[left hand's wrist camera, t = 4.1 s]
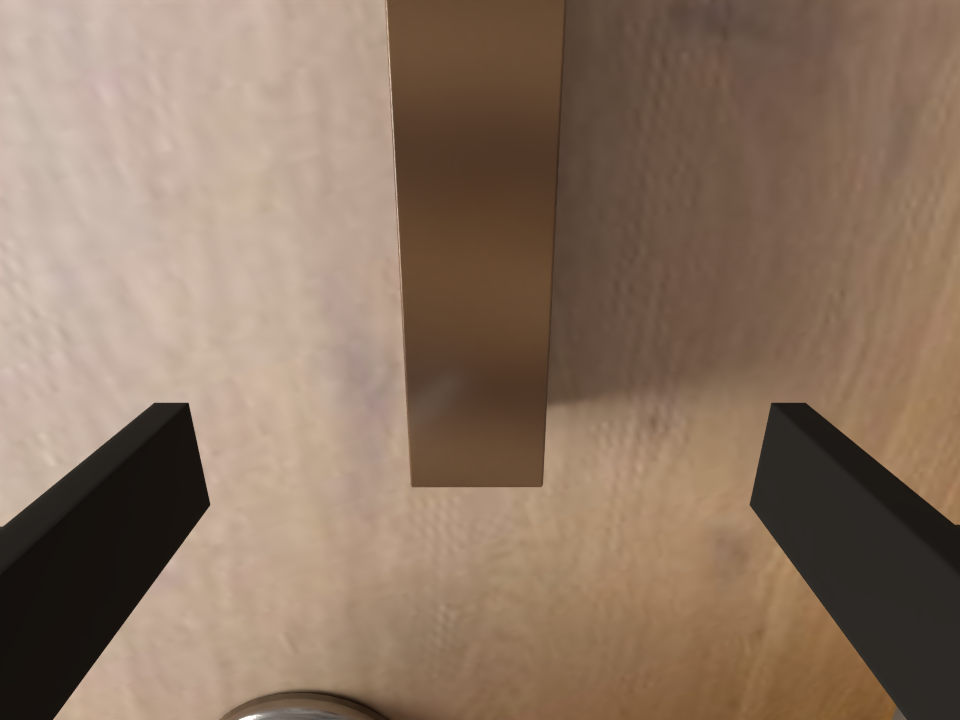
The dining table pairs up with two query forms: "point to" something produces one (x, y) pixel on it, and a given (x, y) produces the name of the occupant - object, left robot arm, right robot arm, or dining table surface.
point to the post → (476, 230)
